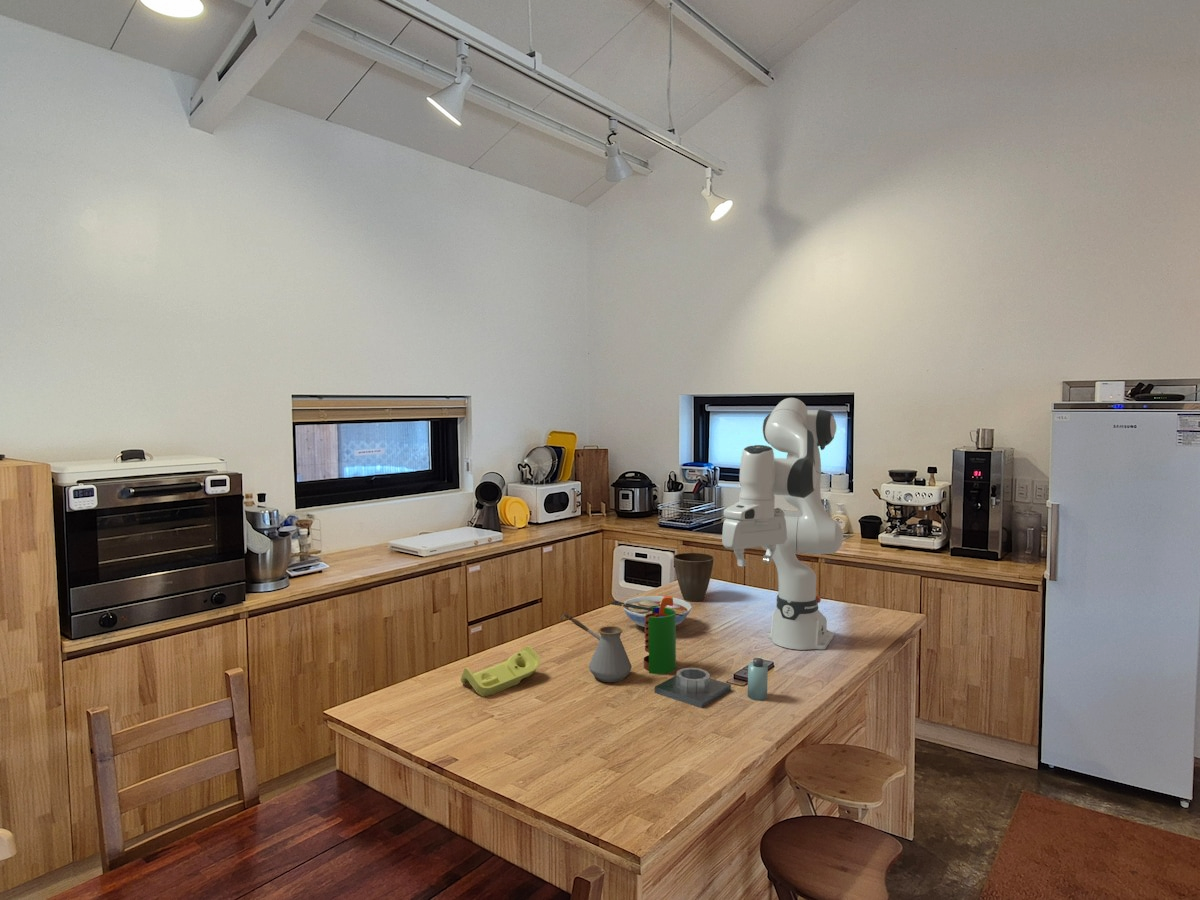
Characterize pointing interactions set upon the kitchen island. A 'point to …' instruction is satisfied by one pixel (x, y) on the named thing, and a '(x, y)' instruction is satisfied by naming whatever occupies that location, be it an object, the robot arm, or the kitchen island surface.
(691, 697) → the motor mount
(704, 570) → the plant pot
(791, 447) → the robot arm
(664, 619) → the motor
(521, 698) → the kitchen island surface
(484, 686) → the plastic component
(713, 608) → the kitchen island surface
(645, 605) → the ramen bowl
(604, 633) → the coffee pot
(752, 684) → the capped teal cylinder
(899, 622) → the kitchen island surface
